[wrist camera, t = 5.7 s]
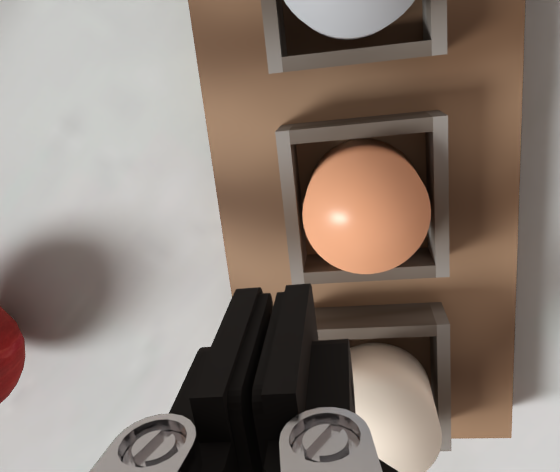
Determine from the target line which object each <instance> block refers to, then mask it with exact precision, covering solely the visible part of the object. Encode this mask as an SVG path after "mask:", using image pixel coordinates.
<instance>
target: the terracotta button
mask: <svg viewBox="0 0 560 472" xmlns="http://www.w3.org/2000/svg"><path fill="white" fill-rule="evenodd" d="M302 215H303V225H304V229H305V233H306V236H307V238H308V240H309V242H310V244H311V245H312V247H313V248H314V250H315V251H316V252H317V253H318V254H319V255H320V256H321V257H322V258H323V259H324V260H325V261H327V262H328V263H329V264H331V265H333V266H335V267H336V268H339V269H341V270H344V271H347V272H351V273H356V274H375V273H380V272H385V271H387V270H390V269H393V268H395V267H397V266H399V265H401V264H402V263H403V262H405V261H406V260H408V259H409V258H410V257H411V256H412V255H413V254H414V253H415V252H416V251H417V250H418V249H419V247H420V246H421V244H422V243H423V241H424V239H425V237H426V235H427V232H428V229H429V225H430V220H431V206H430V200H429V196H428V193H427V190H426V188H425V186H424V184H423V182H422V180H421V179H420V177H419V175H418V174H417V172H416V170H415V169H414V167H413V165H412V164H411V162H410V161H409V160H408V158H407V157H406V156H405V155H404V154H403V153H402V152H401V151H399V150H398V149H397V148H395V147H393V146H392V145H390V144H387V143H385V142H382V141H378V140H374V139H357V140H351V141H348V142H345V143H342V144H340V145H338V146H336V147H334V148H333V149H331V150H330V151H329V152H328V153H326V154H325V155H324V156H323V157H322V158H321V160H320V161H319V162H318V164H317V165H316V167H315V169H314V170H313V173H312V175H311V178H310V181H309V185H308V188H307V192H306V195H305V199H304V203H303V211H302Z"/></svg>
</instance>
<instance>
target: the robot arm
mask: <svg viewBox="0 0 560 472" xmlns="http://www.w3.org/2000/svg"><path fill="white" fill-rule="evenodd" d="M89 472H398V471H397V470H395V469H394V468H392V467H391V466H389V465H388V464H386V463H385V462H383V461H382V460H380V459H379V458H378V455H377V452H376V448H375V445H374V442H373V438H372V435H371V432H370V429H369V427H368V425H367V424H366V422H365V421H364V420H363V419H362V418H361V417H360V416H358V415H357V414H356V413H355V396H354V383H353V372H352V362H351V353H350V344H349V339H334V340H318V332H317V324H316V315H315V307H314V299H313V292H312V286H311V284H310V283H309V284H296V285H286V287H285V291H284V292H277V294H276V298H275V302H274V306H273V301H272V296H271V293H263V291H262V289H261V287H256V288H243V289H236V290H235V292H234V294H233V297H232V299H231V301H230V304H229V306H228V308H227V311H226V313H225V315H224V318H223V320H222V322H221V325H220V327H219V329H218V332H217V334H216V336H215V339H214V341H213V343H212V346H211V347H202V348H200V349H199V351H198V352H197V354H196V356H195V359H194V361H193V363H192V365H191V367H190V369H189V371H188V374H187V376H186V378H185V380H184V382H183V384H182V386H181V389H180V391H179V393H178V395H177V397H176V399H175V401H174V404H173V406H172V408H171V410H170V412H169V414H158V415H154V416H150V417H146V418H144V419H142V420H139V421H137V422H135V423H133V424H132V425H130V426H129V427H127V428H126V429H124V430H123V431H122V432H121V433H120V434H119V435H118V436H117V437H116V438H115V439H114V440H113V442H112V443H111V444H110V446H109V447H108V448H107V449H106V451H105V452H104V453H103V455H102V456H101V457H100V458H99V460H98V461H97V462H96V464H95V465H94V466H93V468H92V469H91V470H90V471H89Z"/></svg>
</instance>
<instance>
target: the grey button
mask: <svg viewBox="0 0 560 472" xmlns="http://www.w3.org/2000/svg"><path fill="white" fill-rule="evenodd" d="M284 1H285V3H286V5H287V6H288V7H289V8H290V10H291V11H292V12H293V13H294V14H295V15H296V16H297V17H298V18H299V19H300V20H301V21H303V22H304V23H305V24H307V25H308V26H309V27H311V28H312V29H313V30H315V31H317V32H318V33H320V34H322V35H325V36H328V37H331V38H335V39H343V40H352V39H359V38H364V37H367V36H370V35H372V34H374V33H376V32H379V31H380V30H382V29H383V28H385V27H386V26H388V25H389V24H391V23H392V22H394V21H395V20H397V19H398V18H399V17H400V16H401V15H402V14H404V12H405V11H406V10H407V9H408V8H409V7H410V6H411V5H412V3H413V2H414V1H415V0H284Z"/></svg>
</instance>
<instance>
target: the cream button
mask: <svg viewBox="0 0 560 472" xmlns="http://www.w3.org/2000/svg"><path fill="white" fill-rule="evenodd" d="M350 353H351V362H352V372H353V383H354V396H355V413H356V414H357V415H358V416H360V417H361V418H362V419H363V420H364V421H365V422H366V424H367V425H368V427H369V429H370V432H371V435H372V438H373V442H374V445H375V448H376V452H377V455H378V458H379V459H380V460H382V461H383V462H385V463H386V464H388V465H389V466H391V467H392V468H394V469H395V470H397V471H398V472H426V471H427V470H428V469H429V468H430V467H431V466H432V464H433V463H434V462H435V460H436V458H437V457H438V454H439V452H440V449H441V445H442V431H441V427H440V423H439V419H438V415H437V411H436V407H435V403H434V399H433V395H432V391H431V387H430V384H429V380H428V376H427V374H426V371H425V369H424V368H423V366H422V365H421V364H420V362H419V361H418V360H417V359H416V358H415V357H414V356H413V355H411V354H410V353H408V352H407V351H405V350H403V349H401V348H399V347H396V346H393V345H389V344H384V343H365V344H361V345H357V346H354V347H351V348H350Z"/></svg>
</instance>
